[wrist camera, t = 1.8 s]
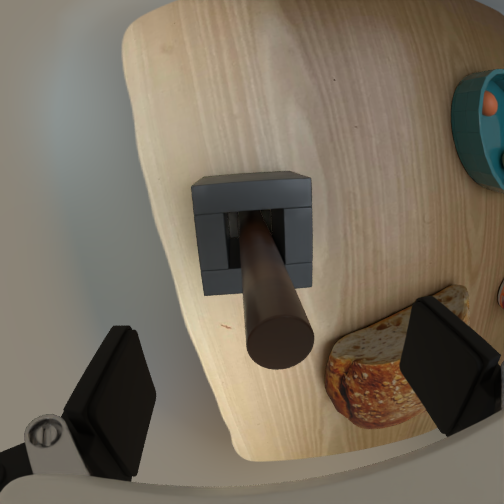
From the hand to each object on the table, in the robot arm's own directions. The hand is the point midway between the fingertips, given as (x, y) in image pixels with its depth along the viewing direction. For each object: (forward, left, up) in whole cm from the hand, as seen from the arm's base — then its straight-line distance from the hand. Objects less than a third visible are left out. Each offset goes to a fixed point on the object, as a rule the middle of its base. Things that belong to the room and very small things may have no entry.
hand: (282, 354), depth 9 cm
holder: (0, 0, -20) cm, 20 cm away
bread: (+20, +18, -20) cm, 34 cm away
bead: (-13, +28, -18) cm, 36 cm away
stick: (0, 0, -20) cm, 20 cm away
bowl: (-10, +31, -20) cm, 38 cm away
